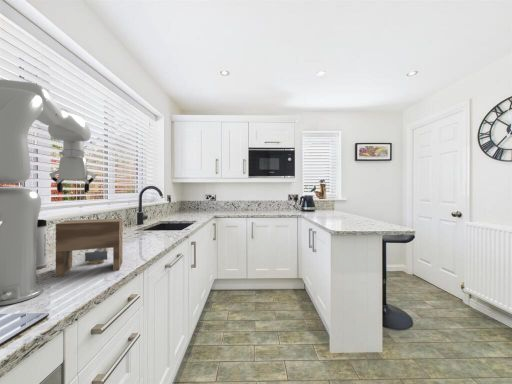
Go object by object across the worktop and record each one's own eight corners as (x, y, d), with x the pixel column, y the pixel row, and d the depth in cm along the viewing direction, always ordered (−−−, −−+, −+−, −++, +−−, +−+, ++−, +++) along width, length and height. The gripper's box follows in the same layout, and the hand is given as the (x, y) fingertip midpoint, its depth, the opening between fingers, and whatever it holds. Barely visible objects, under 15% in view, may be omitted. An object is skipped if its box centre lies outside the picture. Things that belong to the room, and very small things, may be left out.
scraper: (106, 259, 106) (107, 243, 107) (85, 261, 103) (85, 244, 104) (113, 252, 124) (113, 238, 125) (95, 253, 121) (95, 239, 122)
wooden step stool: (119, 270, 96) (119, 221, 96) (55, 276, 88) (55, 224, 88) (122, 261, 107) (122, 218, 107) (66, 267, 99) (66, 220, 99)
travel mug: (21, 269, 96) (21, 218, 97) (42, 264, 102) (42, 217, 102) (28, 271, 94) (28, 219, 94) (49, 266, 99) (49, 217, 99)
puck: (102, 264, 105) (102, 260, 105) (86, 265, 103) (86, 261, 103) (105, 260, 111) (105, 257, 111) (90, 261, 109) (90, 258, 109)
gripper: (46, 152, 104) (46, 192, 104) (94, 155, 111) (94, 192, 111) (53, 154, 111) (52, 192, 111) (97, 157, 118) (97, 192, 118)
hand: (73, 192), depth 111 cm, fingers open, 9 cm apart
